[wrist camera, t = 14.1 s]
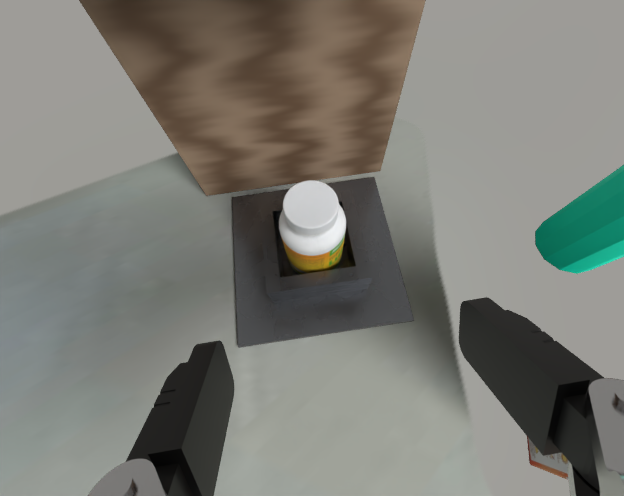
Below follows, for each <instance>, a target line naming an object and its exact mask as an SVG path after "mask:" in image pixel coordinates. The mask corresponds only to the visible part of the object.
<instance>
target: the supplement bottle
mask: <svg viewBox="0 0 624 496" xmlns="http://www.w3.org/2000/svg"><path fill="white" fill-rule="evenodd" d="M279 230H280V235H281V238H282V241H283V244H284V247H285V250H286V254H287V257H288V260H289V263H290V265H291V267H292V268H293V269H294V271H295V272H297V273H298V274H299V275H301V274H307V273H314V272H321V271H327V270H334V269H336V268H337V267H338V265H339V263H340V261H341V257H342V251H343V245H344V238H345V231H346V217H345V214H344V211H343V209H342V207H341V206H340V205H339V201H338V197H337V195H336V193H335V192H334V190H333V189H332V188H331V187H330V186H328V185H327V184H325V183H323V182H320V181H314V180H309V181H303V182H300V183H298V184H296V185H294V186H293V187H291V188H290V189H289V190H288V192H287V193H286V195H285V197H284V200H283V210H282V212H281V215H280V218H279Z"/></svg>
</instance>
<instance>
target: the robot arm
mask: <svg viewBox="0 0 624 496" xmlns="http://www.w3.org/2000/svg"><path fill="white" fill-rule="evenodd" d="M459 344H460V348H461V351H462V353H463V355H464V357H465V358H466V360H467V361H468V362H469V363H470V365H471V366H472V367H473V368H474V370H475V371H476V372H477V373H478V375H479V376H480V377H481V378H482V380H483V381H484V382H485V384H486V385H487V386H488V387H489V389H490V390H491V391H492V392H493V393H494V395H495V396H496V397H497V399H498V400H499V401H500V402H501V404H502V405H503V406H504V407H505V409H506V410H507V411H508V412H509V414H510V415H511V416H512V417H513V418H514V420H515V421H516V423H517V424H518V425H519V426H520V427H521V429H522V430H523V431H524V433H525V434H526V435H527V436H528V438H529V439H530V440H531V441H532V443H533V444H534V445H535V446H536V448H537V449H538V450H539V451H540V453H541V454H542V455H543V456H545V455H551V454H556V453H562V454H563V455H564V456H565V457H566V458H567V459H568V461H569V463H568V467H567V473H568V481H569V489H570V496H624V380H619V379H612V378H604V377H602V376H601V375H600V374H599V373H597V372H596V371H595V370H593V369H592V368H591V367H589V366H588V365H587V364H586V363H584V362H583V361H581V360H580V359H579V358H578V357H576V356H575V355H574V354H573V353H571V352H570V351H569V350H567V349H566V348H565V347H563V346H562V345H561V344H559V343H558V342H557V341H554V340H553V338H552V337H550V336H549V335H548V334H546V333H545V332H542V331H541V329H540V328H538V327H537V326H536V325H535V324H533V323H532V322H531V321H529V320H528V319H527V318H525V317H523V316H520V315H518V314H516V313H513V312H512V311H509V310H503V309H502V308H501V307H500V306H499V305H497V304H496V303H495V302H493V301H492V300H491V299H489V298H481V299H474V300H468V301H463V302H462V304H461V308H460V326H459ZM233 397H234V380H233V375H232V372H231V369H230V366H229V362H228V359H227V356H226V352H225V349H224V346H223V344H222V342H221V341H214V342H208V343H202V344H197V345H196V346H195V347H194V349H193V351H192V354H191V356H190V358H189V361H188V362H186V363H180V364H179V365H178V366H177V368H176V369H175V370H174V371H173V372H172V373H171V374H170V375H169V376H168V377H167V379H166V381H165V383H164V385H163V387H162V389H161V391H160V395H158V397H157V400H156V402H155V404H154V408H152V410H151V412H150V414H149V416H148V418H147V420H146V422H145V424H144V426H143V428H142V430H141V432H140V434H139V436H138V438H137V440H136V442H135V444H134V446H133V448H132V450H131V452H130V454H129V456H128V458H127V460H126V462H125V463H123V464H120V465H119V466H117V467H115V468H114V469H112V470H111V471H110V472H108V473H107V474H106V475H105V476H104V477H103V478H102V479H101V480H100V481H99V482H98V483H97V484H96V485H95V486H94V487H93V489H92V490H91V491H90V493H89V494H88V496H213V495H214V490H215V486H216V481H217V476H218V471H219V466H220V461H221V456H222V451H223V446H224V441H225V436H226V432H227V427H228V422H229V417H230V412H231V407H232V402H233Z"/></svg>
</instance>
